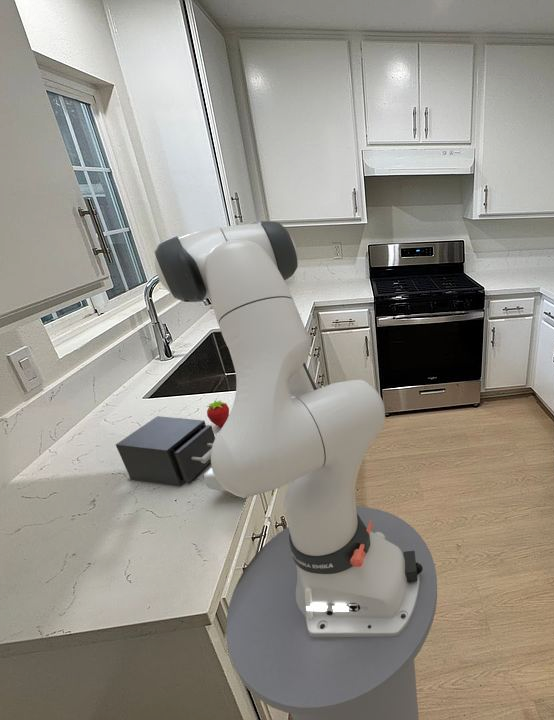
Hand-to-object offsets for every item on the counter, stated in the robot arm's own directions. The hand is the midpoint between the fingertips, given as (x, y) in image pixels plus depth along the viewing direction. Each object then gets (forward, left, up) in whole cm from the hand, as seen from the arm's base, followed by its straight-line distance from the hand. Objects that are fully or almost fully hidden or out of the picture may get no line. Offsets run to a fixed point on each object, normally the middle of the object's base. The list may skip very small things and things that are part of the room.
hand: (214, 452), depth 96 cm
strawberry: (+13, -18, -6) cm, 23 cm away
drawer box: (+14, 0, -6) cm, 15 cm away
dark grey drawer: (+9, 0, -5) cm, 10 cm away
